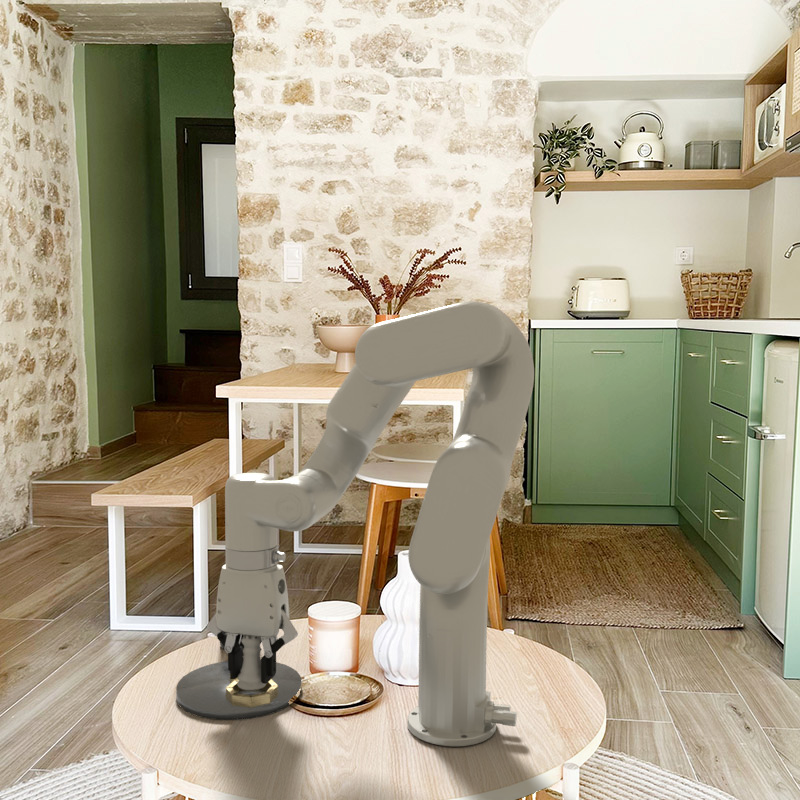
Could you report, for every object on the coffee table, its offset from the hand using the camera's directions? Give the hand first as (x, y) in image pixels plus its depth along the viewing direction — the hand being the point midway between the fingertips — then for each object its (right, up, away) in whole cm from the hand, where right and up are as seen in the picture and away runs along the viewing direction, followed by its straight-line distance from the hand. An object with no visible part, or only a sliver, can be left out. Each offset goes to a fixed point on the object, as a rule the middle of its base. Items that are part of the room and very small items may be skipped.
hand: (252, 676), depth 128 cm
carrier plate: (-3, -4, +5) cm, 7 cm away
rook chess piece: (0, -2, 0) cm, 2 cm away
